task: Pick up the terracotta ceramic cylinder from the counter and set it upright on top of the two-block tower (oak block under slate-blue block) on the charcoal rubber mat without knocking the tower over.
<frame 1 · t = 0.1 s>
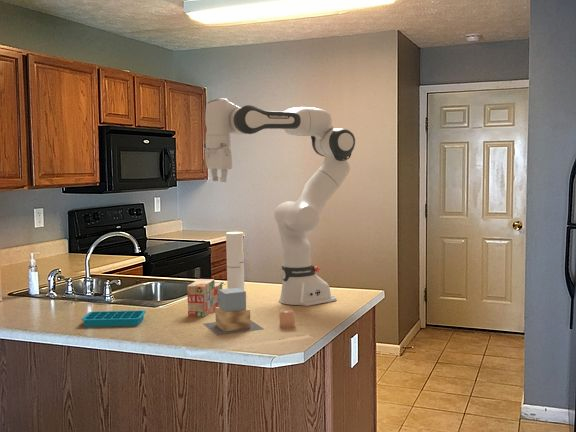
hand: (219, 181, 233), 48 cm above the worktop, fingers open, 8 cm apart
ice cube tray: (114, 323, 222), on the worktop
slate-blue block: (232, 308, 210), point 7 cm above the worktop, touching oak block
charcoal rubber mat: (233, 329, 211), on the worktop
terracotta cylinder: (287, 329, 210), on the worktop
oak block: (233, 326, 210), point 1 cm above the worktop, touching charcoal rubber mat, slate-blue block
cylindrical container: (235, 291, 271), on the worktop
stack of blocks: (206, 313, 235), on the worktop
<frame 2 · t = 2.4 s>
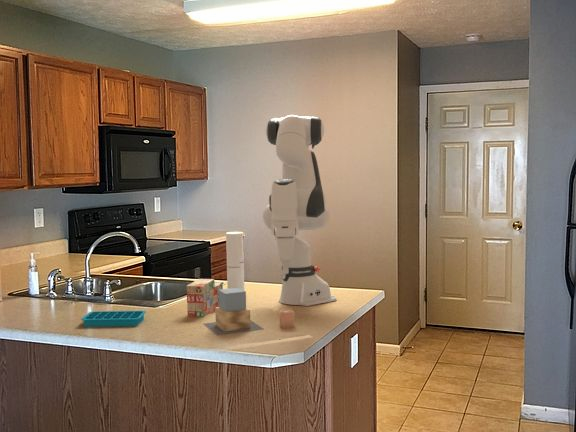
hand: (285, 270, 208), 19 cm above the worktop, fingers open, 8 cm apart
nothing on the worktop moved.
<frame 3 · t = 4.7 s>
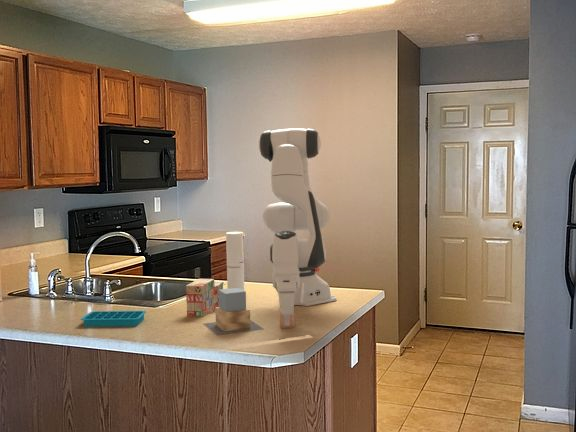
hand: (286, 322, 209), 2 cm above the worktop, fingers closed on terracotta cylinder, 5 cm apart
terracotta cylinder: (287, 329, 210), on the worktop, touching gripper
everything else where it was.
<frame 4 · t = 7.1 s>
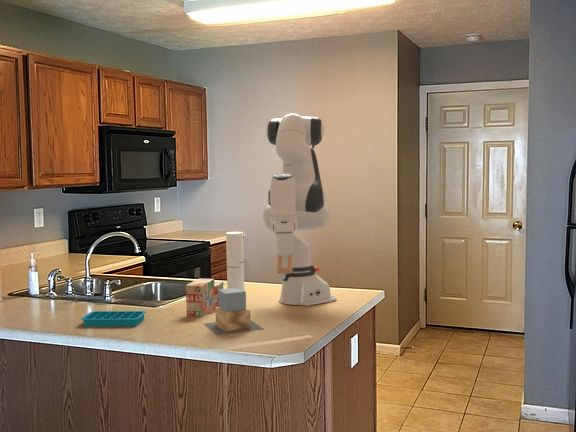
hand: (284, 266, 208), 21 cm above the worktop, fingers closed on terracotta cylinder, 5 cm apart
terracotta cylinder: (284, 272, 208), point 19 cm above the worktop, touching gripper
everything else where it was.
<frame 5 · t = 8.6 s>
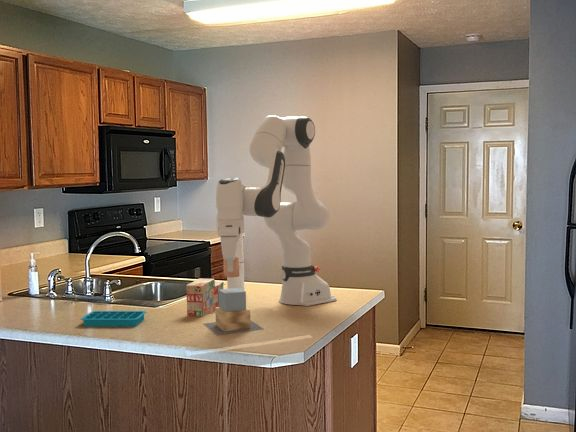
hand: (231, 269, 209), 20 cm above the worktop, fingers closed on terracotta cylinder, 5 cm apart
terracotta cylinder: (231, 276, 209), point 18 cm above the worktop, touching gripper
everything else where it was.
when the fingers open (16 cm above the worktop, at t = 9.8 s): terracotta cylinder stays where it is, resting on slate-blue block.
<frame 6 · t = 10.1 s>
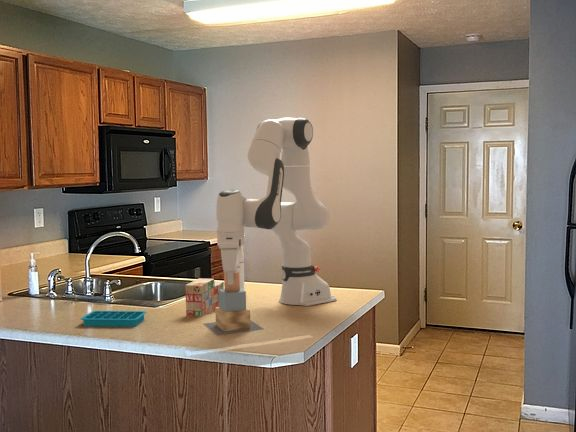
hand: (231, 281, 209), 16 cm above the worktop, fingers open, 8 cm apart
slate-blue block: (232, 308, 210), point 7 cm above the worktop, touching oak block, terracotta cylinder
terracotta cylinder: (232, 290, 209), point 13 cm above the worktop, touching slate-blue block
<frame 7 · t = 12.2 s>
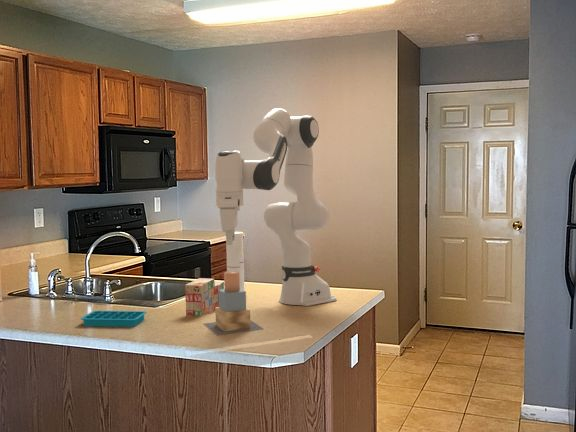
hand: (230, 242, 208), 29 cm above the worktop, fingers open, 8 cm apart
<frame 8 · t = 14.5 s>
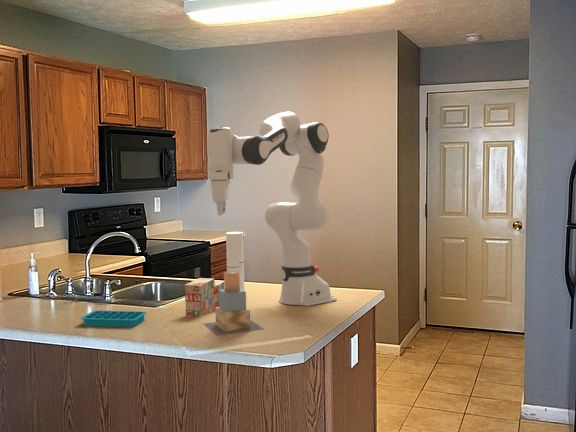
hand: (221, 213, 221), 37 cm above the worktop, fingers open, 8 cm apart
at the end: terracotta cylinder 0.1 cm off-centre on the slate-blue block, point 6.0 cm above the slate-blue block's base; terracotta cylinder tilted 0°; slate-blue block 0.0 cm from the target spot, point 7.0 cm above the worktop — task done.
